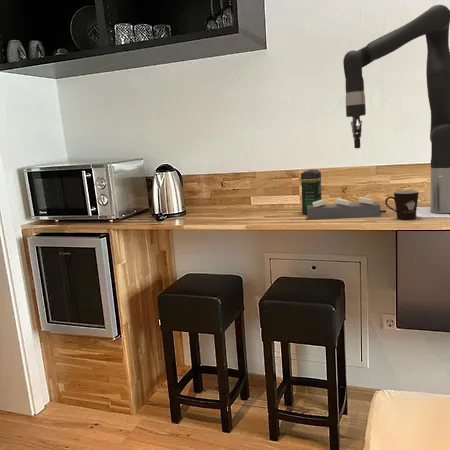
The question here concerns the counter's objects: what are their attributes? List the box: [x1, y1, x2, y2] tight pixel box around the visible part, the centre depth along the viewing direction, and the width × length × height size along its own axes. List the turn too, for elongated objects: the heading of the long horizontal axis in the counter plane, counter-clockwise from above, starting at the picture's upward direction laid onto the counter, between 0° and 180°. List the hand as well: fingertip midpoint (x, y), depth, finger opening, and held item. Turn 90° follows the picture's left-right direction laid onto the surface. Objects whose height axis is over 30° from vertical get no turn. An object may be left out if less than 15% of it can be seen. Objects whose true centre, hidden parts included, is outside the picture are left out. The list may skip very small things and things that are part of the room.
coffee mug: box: [385, 189, 420, 221], centre depth 180 cm, size 12×9×10 cm
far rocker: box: [313, 198, 327, 207], centre depth 193 cm, size 5×4×2 cm
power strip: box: [306, 201, 388, 221], centre depth 194 cm, size 31×8×5 cm, turn 80°
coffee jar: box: [300, 169, 323, 215], centre depth 205 cm, size 10×8×19 cm
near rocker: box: [358, 196, 375, 205], centre depth 190 cm, size 5×4×2 cm
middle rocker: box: [334, 197, 351, 206], centre depth 192 cm, size 5×4×2 cm
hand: (357, 148), depth 194 cm, fingers closed
